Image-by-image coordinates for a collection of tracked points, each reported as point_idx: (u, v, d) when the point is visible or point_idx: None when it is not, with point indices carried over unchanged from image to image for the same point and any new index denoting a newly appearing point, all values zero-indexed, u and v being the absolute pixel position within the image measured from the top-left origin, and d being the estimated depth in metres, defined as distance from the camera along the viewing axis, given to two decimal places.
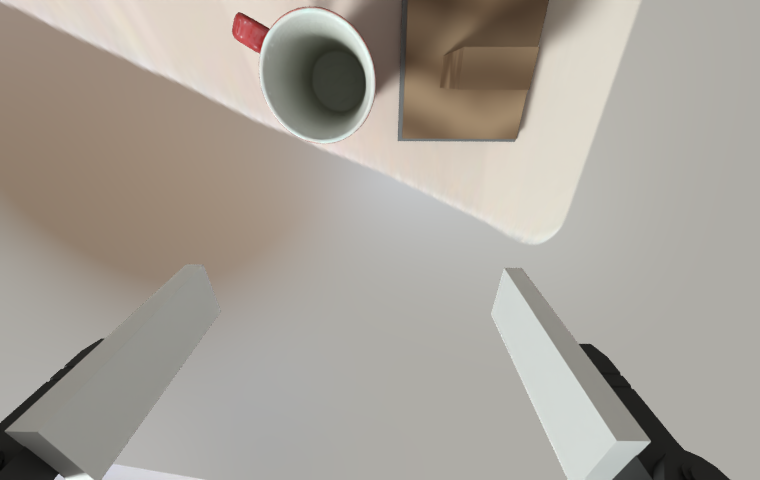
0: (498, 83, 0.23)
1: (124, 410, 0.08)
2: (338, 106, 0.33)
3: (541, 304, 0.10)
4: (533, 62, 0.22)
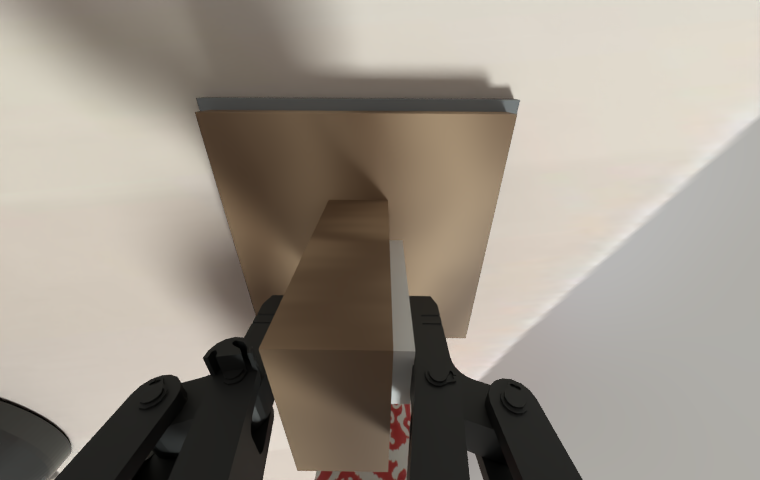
0: (373, 416, 0.07)
1: None
2: None
3: (399, 266, 0.12)
4: (306, 355, 0.06)
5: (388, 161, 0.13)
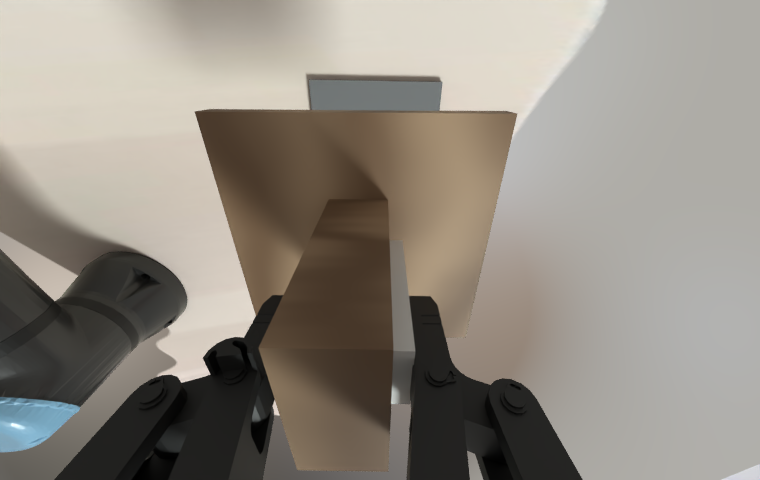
0: (373, 415, 0.07)
1: None
2: None
3: (398, 266, 0.12)
4: (305, 354, 0.06)
5: (388, 161, 0.13)
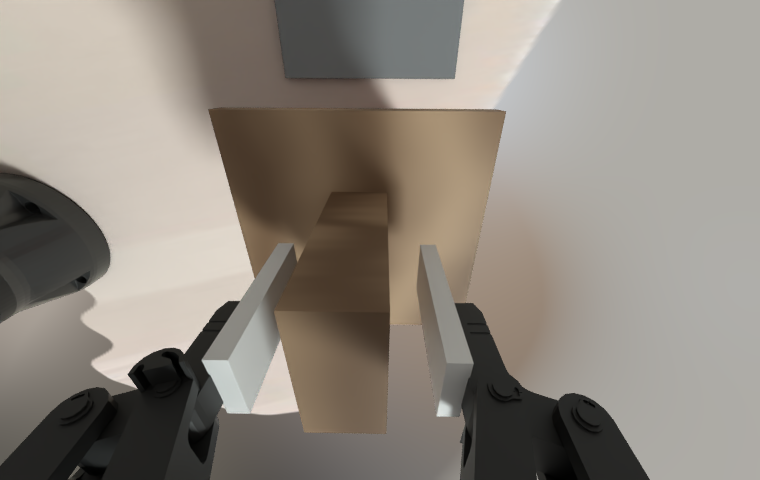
0: (373, 376, 0.08)
1: (260, 357, 0.10)
2: None
3: (437, 271, 0.11)
4: (314, 316, 0.07)
5: (387, 155, 0.14)
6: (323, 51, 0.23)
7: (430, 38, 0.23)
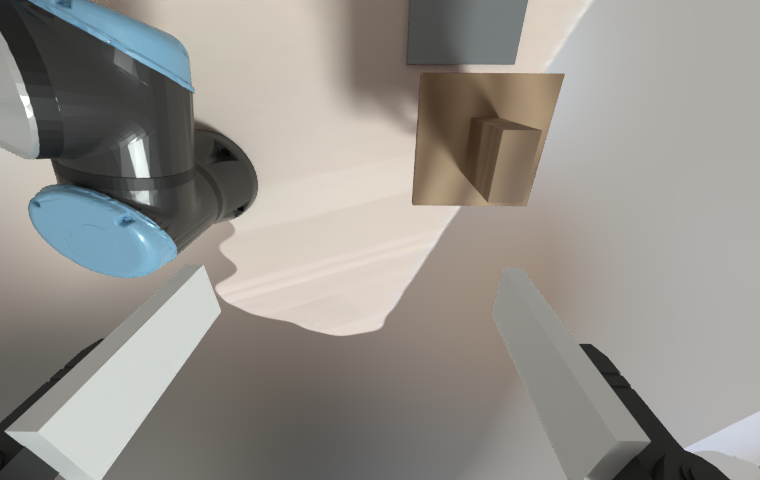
0: (527, 165, 0.22)
1: (124, 410, 0.08)
2: None
3: (541, 304, 0.10)
4: (516, 132, 0.21)
5: (503, 97, 0.28)
6: (434, 46, 0.38)
7: (502, 38, 0.37)
